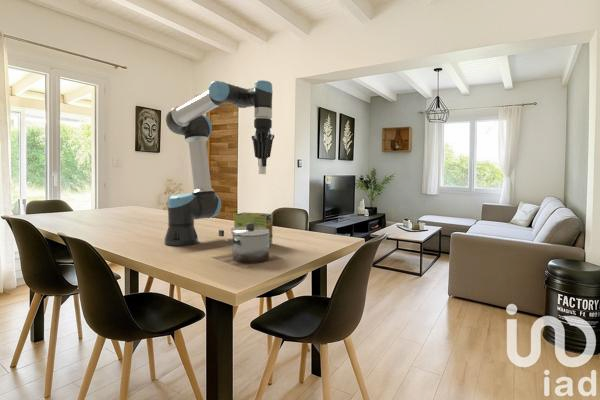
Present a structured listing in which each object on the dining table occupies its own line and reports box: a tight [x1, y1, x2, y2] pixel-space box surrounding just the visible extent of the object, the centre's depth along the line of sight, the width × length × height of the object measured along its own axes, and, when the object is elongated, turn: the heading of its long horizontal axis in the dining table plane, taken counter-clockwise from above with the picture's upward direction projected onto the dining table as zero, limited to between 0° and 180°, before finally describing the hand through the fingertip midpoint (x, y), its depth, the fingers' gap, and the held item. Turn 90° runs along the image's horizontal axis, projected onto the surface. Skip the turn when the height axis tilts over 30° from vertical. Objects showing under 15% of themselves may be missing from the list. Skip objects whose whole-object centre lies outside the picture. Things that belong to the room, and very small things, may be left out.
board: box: [211, 252, 284, 269], centre depth 130 cm, size 20×20×1 cm
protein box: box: [233, 212, 274, 246], centre depth 153 cm, size 10×15×16 cm
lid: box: [230, 223, 269, 237], centre depth 128 cm, size 15×14×4 cm
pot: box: [218, 226, 273, 264], centre depth 129 cm, size 16×19×11 cm
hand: (262, 174), depth 143 cm, fingers closed
